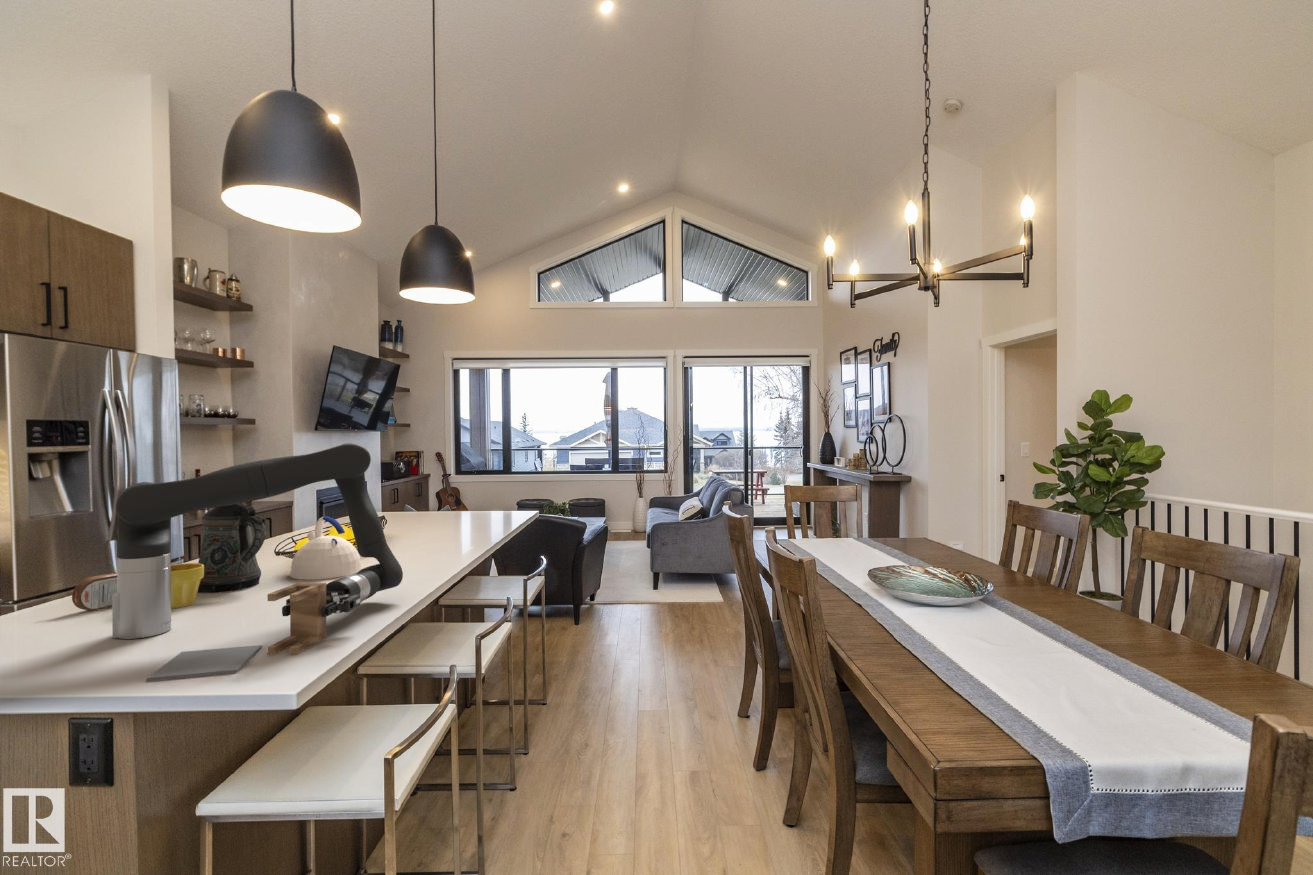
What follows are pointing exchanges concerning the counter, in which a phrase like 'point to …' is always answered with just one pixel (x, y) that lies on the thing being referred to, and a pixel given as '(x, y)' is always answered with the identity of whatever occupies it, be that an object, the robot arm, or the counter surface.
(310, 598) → the stool
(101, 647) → the counter surface
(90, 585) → the tin
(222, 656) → the mat
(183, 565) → the plant pot
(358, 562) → the kettle
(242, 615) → the counter surface
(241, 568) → the beer stein
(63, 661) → the counter surface
